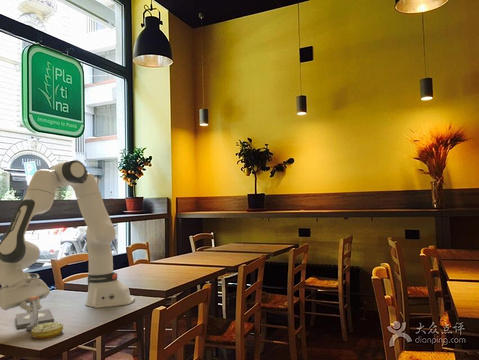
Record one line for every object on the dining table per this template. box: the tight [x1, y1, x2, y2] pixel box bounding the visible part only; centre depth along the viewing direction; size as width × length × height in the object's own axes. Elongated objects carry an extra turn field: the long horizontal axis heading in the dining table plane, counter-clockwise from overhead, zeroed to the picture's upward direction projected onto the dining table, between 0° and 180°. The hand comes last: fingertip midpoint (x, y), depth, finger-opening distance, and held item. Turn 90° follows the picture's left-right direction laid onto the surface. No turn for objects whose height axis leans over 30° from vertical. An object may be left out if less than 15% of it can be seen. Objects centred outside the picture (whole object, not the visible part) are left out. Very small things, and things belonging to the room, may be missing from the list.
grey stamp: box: [25, 296, 39, 332], centre depth 149 cm, size 4×4×12 cm
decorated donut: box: [30, 321, 64, 340], centre depth 142 cm, size 10×11×4 cm
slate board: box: [15, 308, 55, 330], centre depth 161 cm, size 18×13×2 cm
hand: (35, 310), depth 149 cm, fingers closed on grey stamp, 2 cm apart
